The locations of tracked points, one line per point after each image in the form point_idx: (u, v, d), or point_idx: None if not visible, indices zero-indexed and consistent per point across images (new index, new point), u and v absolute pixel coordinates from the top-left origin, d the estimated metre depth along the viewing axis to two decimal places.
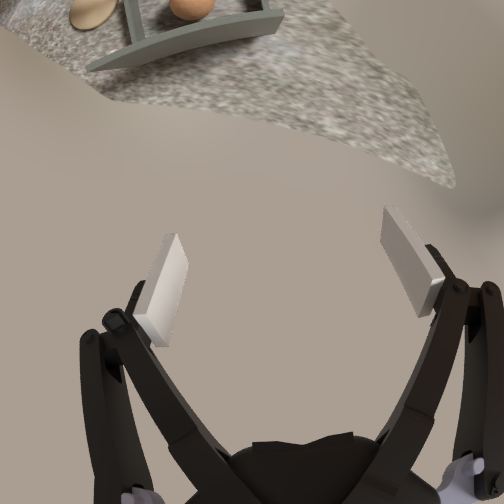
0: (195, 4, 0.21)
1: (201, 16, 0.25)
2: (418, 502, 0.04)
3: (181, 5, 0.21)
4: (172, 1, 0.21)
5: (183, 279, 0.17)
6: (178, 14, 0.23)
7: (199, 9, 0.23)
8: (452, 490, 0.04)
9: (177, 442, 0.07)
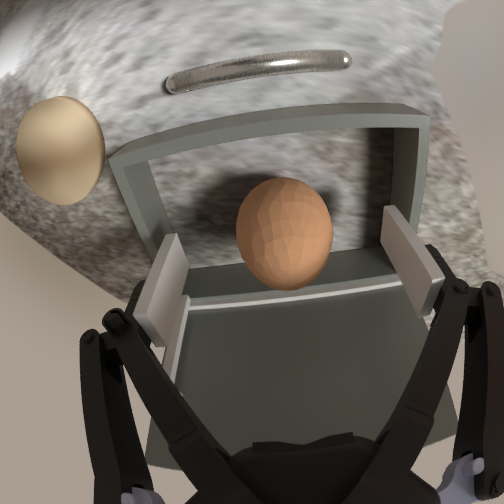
0: (306, 284, 0.15)
1: None
2: (418, 502, 0.04)
3: (277, 289, 0.15)
4: (254, 271, 0.14)
5: (183, 279, 0.17)
6: None
7: None
8: (452, 490, 0.04)
9: (177, 442, 0.07)
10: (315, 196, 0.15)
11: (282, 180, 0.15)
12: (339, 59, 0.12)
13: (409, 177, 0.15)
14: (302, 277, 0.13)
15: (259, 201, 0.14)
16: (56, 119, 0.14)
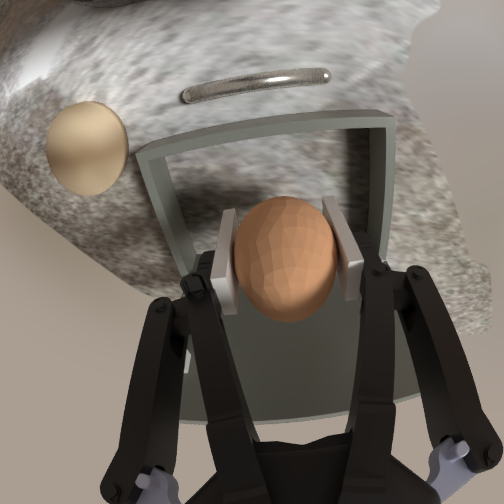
0: None
1: None
2: (418, 502, 0.04)
3: (277, 320, 0.13)
4: (253, 302, 0.13)
5: None
6: None
7: None
8: (444, 477, 0.04)
9: (218, 423, 0.07)
10: (319, 219, 0.14)
11: (283, 201, 0.14)
12: (320, 75, 0.17)
13: (381, 169, 0.19)
14: (304, 310, 0.12)
15: (258, 225, 0.13)
16: (87, 120, 0.18)
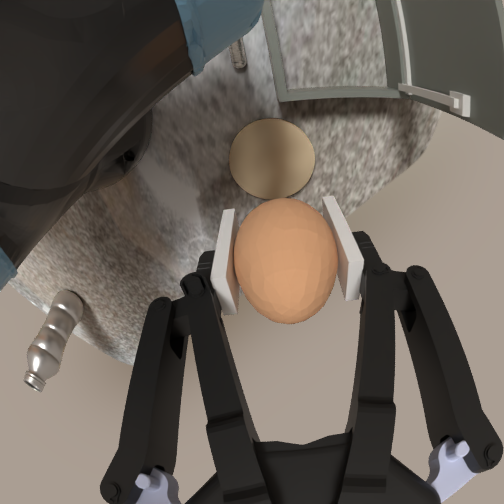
0: None
1: None
2: (418, 502, 0.04)
3: (277, 322, 0.13)
4: (253, 304, 0.13)
5: None
6: None
7: None
8: (444, 477, 0.04)
9: (218, 423, 0.07)
10: (319, 220, 0.14)
11: (283, 202, 0.14)
12: None
13: None
14: (304, 312, 0.12)
15: (258, 227, 0.13)
16: (246, 149, 0.27)
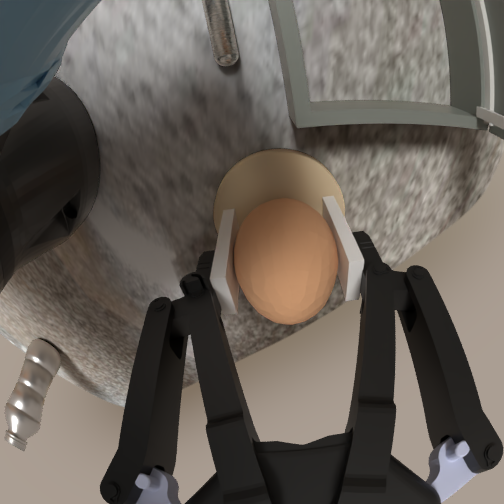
0: None
1: None
2: (418, 502, 0.04)
3: None
4: (253, 304, 0.13)
5: None
6: None
7: None
8: (444, 477, 0.04)
9: (217, 423, 0.07)
10: (320, 221, 0.14)
11: (283, 203, 0.14)
12: None
13: None
14: (305, 312, 0.12)
15: (258, 227, 0.13)
16: (239, 200, 0.18)
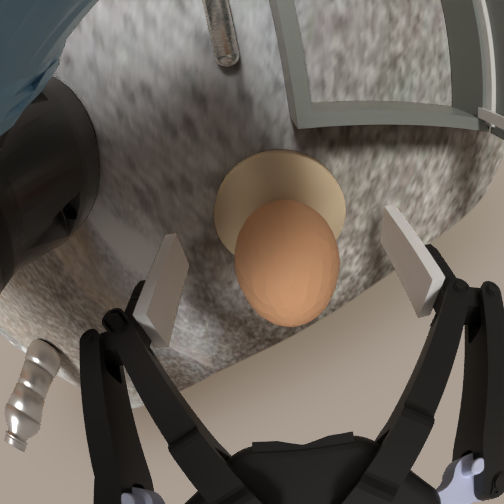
0: None
1: None
2: (418, 502, 0.04)
3: None
4: (254, 307, 0.13)
5: (183, 279, 0.17)
6: None
7: None
8: (452, 490, 0.04)
9: (177, 442, 0.07)
10: (321, 222, 0.14)
11: (284, 204, 0.14)
12: None
13: None
14: (306, 315, 0.12)
15: (259, 229, 0.13)
16: (239, 201, 0.18)
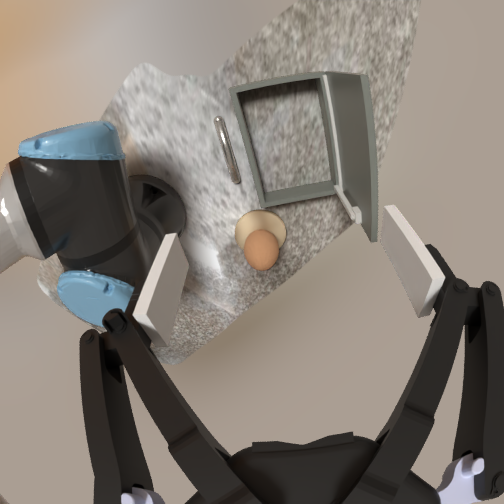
0: None
1: None
2: (418, 502, 0.04)
3: (259, 270, 0.44)
4: (251, 264, 0.43)
5: (183, 279, 0.17)
6: None
7: None
8: (452, 490, 0.04)
9: (177, 442, 0.07)
10: (270, 237, 0.44)
11: (259, 232, 0.45)
12: (218, 123, 0.37)
13: None
14: (265, 265, 0.42)
15: (251, 241, 0.44)
16: (244, 229, 0.48)
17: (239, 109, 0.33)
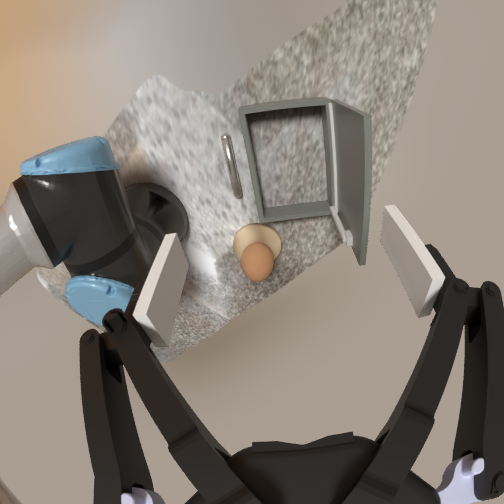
0: (263, 279, 0.47)
1: None
2: (418, 502, 0.04)
3: None
4: (247, 275, 0.46)
5: (183, 279, 0.17)
6: None
7: None
8: (452, 490, 0.04)
9: (177, 442, 0.07)
10: (267, 250, 0.47)
11: (256, 245, 0.48)
12: (225, 140, 0.40)
13: None
14: (260, 277, 0.45)
15: (248, 253, 0.47)
16: (242, 241, 0.51)
17: (246, 130, 0.36)
